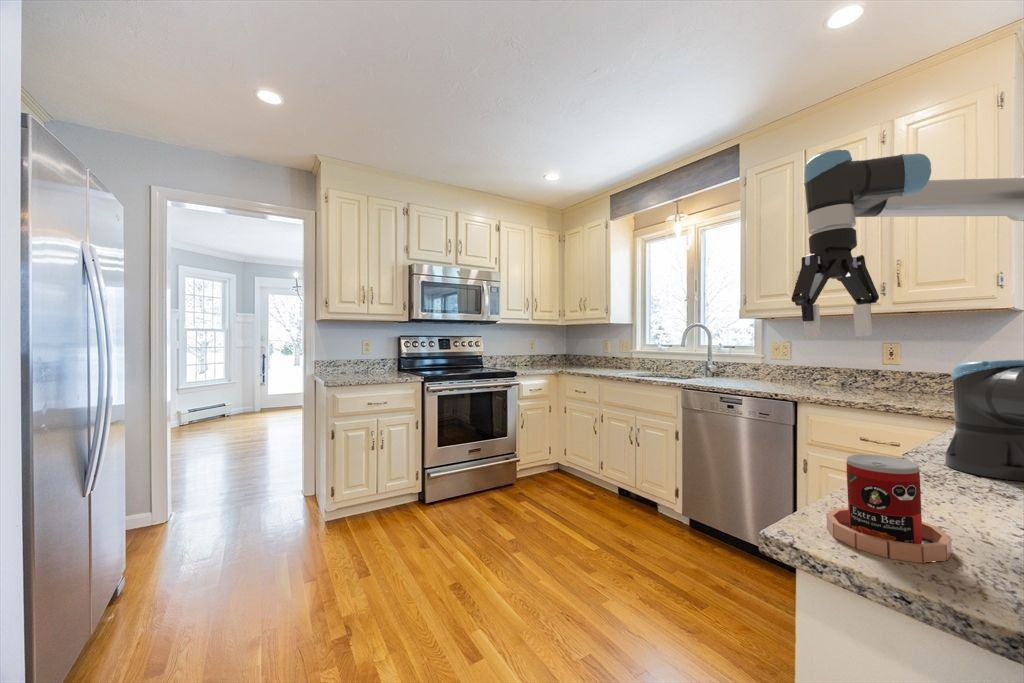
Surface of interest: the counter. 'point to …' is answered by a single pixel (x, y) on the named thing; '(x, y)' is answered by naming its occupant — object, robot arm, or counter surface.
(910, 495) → the canned food
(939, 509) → the counter surface
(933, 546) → the ring
